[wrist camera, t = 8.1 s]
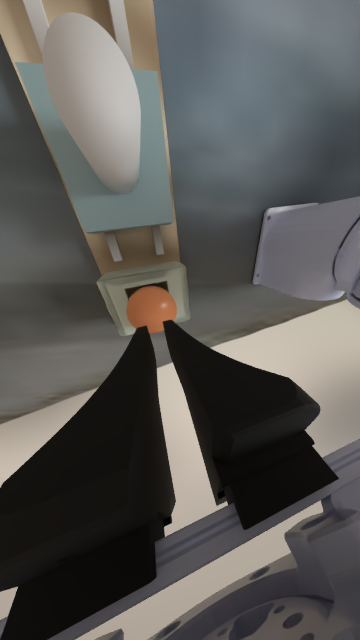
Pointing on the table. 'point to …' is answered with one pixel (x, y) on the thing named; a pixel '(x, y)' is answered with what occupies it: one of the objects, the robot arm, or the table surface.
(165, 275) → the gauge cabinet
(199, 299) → the table surface
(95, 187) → the carriage
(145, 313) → the button
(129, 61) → the rail track
